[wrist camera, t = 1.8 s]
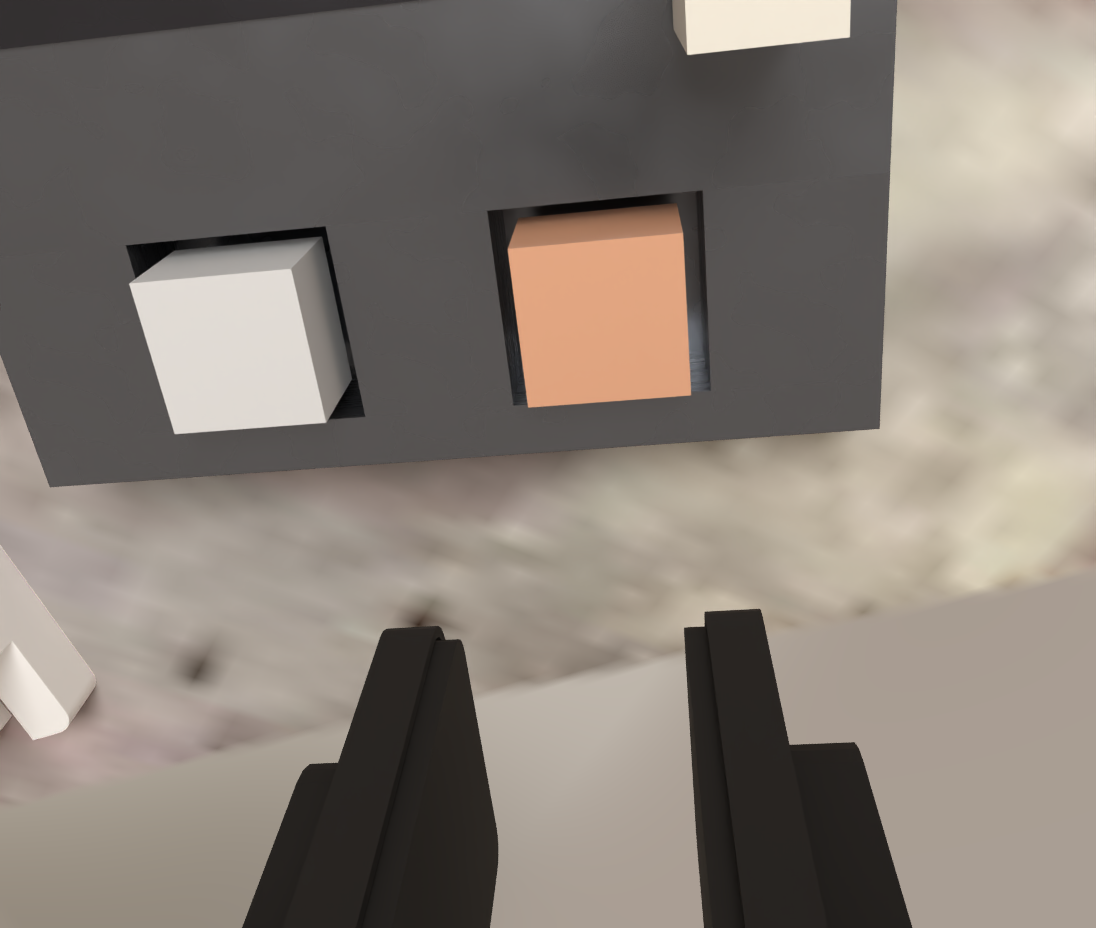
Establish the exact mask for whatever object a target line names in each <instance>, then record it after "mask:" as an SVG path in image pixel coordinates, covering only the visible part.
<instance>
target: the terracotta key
mask: <svg viewBox="0 0 1096 928" xmlns="http://www.w3.org/2000/svg"><path fill="white" fill-rule="evenodd" d="M508 255H509V263H510V271H511V278H512V286H513V294H514V302H515V309H516V317H517V325H518V333H519V341H520V348H521V356H522V364H523V372H524V379H525V387H526V395H527V403H528V408H530V407H543V406H556V405H570V404H583V403H596V402H610V401H623V400H636V399H650V398H663V397H676V396H690V395H691V382H690V362H689V342H688V322H687V302H686V282H685V262H684V241H683V230H682V226H681V221H680V216H679V211H678V207H677V203H672V204H661V205H651V206H640V207H629V208H619V209H608V210H598V211H587V212H576V213H566V214H555V215H545V216H534V217H523V218H518V221H517V224H516V226H515V229H514V232H513V235H512V238H511V241H510V244H509V247H508Z"/></svg>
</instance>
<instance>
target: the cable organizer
mask: <svg viewBox="0 0 1096 928" xmlns="http://www.w3.org/2000/svg"><path fill="white" fill-rule="evenodd" d="M95 686H96V678H95V675H94V673H93V672H92V671H91V669H90V668H89V666H88V665H87V664H86V662H85V661H84V659H83V658H82V657H81V655H80V654H79V653H78V651H77V650H76V648H75V647H74V646H73V644H72V643H71V642H70V640H69V639H68V637H67V636H66V635H65V633H64V632H63V631H62V629H61V628H60V626H59V625H58V624H57V622H56V621H55V620H54V618H53V617H52V615H51V614H50V613H49V611H48V610H47V609H46V607H45V606H44V604H43V603H42V602H41V600H40V599H39V598H38V596H37V595H36V593H35V592H34V591H33V589H32V588H31V587H30V585H29V584H28V582H27V581H26V580H25V578H24V577H23V576H22V574H21V573H20V571H19V570H18V569H17V567H16V566H15V565H14V563H13V562H12V560H11V559H10V558H9V556H8V555H7V553H6V552H5V551H4V549H3V548H2V547H1V545H0V699H1V700H2V701H3V703H4V704H5V705H6V706H7V708H8V709H9V710H10V711H11V713H12V714H13V715H14V716H15V718H16V719H17V720H18V722H19V723H20V724H21V725H22V727H23V728H24V729H25V730H26V732H27V733H28V734H29V736H30V737H31V738H32V739H33V740H36V739H40V738H43V737H46V736H50V735H53V734H57V733H60V732H62V731H64V730H65V729H66V728H67V727H68V726H69V724H70V723H71V721H72V720H73V718H74V717H75V716H76V714H77V713H78V711H79V710H80V708H81V707H82V705H83V704H84V702H85V701H86V700H87V698H88V697H89V695H90V694H91V692H92V691H93V689H94V688H95ZM11 716H12V715H11V714H10V713H9V711H8V710H7V709H6V708H5V706H4V705H3V704H2V702H1V701H0V731H1V729H2V728H3V727H4V726H5V724H6V723H7V722H8V720H9V719H10V718H11Z"/></svg>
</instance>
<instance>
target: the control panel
mask: <svg viewBox="0 0 1096 928" xmlns="http://www.w3.org/2000/svg"><path fill="white" fill-rule="evenodd" d="M896 14H897V0H851V8H850V37H848V38H839V39H830V40H820V41H811V42H802V43H793V44H784V45H775V46H765V47H756V48H747V49H738V50H729V51H720V52H710V53H701V54H692V55H687V53H686V52H685V50H684V48H683V46H682V44H681V42H680V40H679V39H678V37H677V35H676V33H675V31H674V28H673V8H672V0H0V355H1V358H2V360H3V363H4V366H5V368H6V371H7V374H8V376H9V379H10V382H11V384H12V387H13V390H14V392H15V395H16V398H17V400H18V403H19V406H20V408H21V411H22V414H23V416H24V419H25V422H26V424H27V427H28V430H29V432H30V435H31V438H32V440H33V443H34V446H35V448H36V451H37V454H38V456H39V459H40V462H41V464H42V467H43V470H44V473H45V475H46V478H47V481H48V483H49V486H50V487H59V486H74V485H88V484H102V483H116V482H130V481H145V480H159V479H173V478H187V477H201V476H216V475H230V474H244V473H258V472H272V471H287V470H301V469H315V468H329V467H343V466H358V465H372V464H386V463H400V462H414V461H429V460H443V459H457V458H471V457H485V456H500V455H514V454H528V453H542V452H556V451H571V450H585V449H599V448H613V447H627V446H642V445H656V444H670V443H684V442H699V441H713V440H727V439H741V438H755V437H770V436H784V435H798V434H812V433H826V432H841V431H855V430H869V429H879V427H880V403H881V379H882V354H883V330H884V306H885V282H886V257H887V233H888V209H889V184H890V160H891V136H892V112H893V87H894V63H895V39H896ZM672 203H677V207H678V211H679V216H680V221H681V226H682V230H683V241H684V262H685V282H686V302H687V322H688V342H689V362H690V382H691V395H690V396H676V397H663V398H650V399H636V400H623V401H610V402H596V403H583V404H570V405H556V406H543V407H530V408H528V403H527V395H526V387H525V379H524V372H523V364H522V356H521V348H520V341H519V333H518V325H517V317H516V309H515V302H514V294H513V286H512V278H511V271H510V263H509V255H508V247H509V244H510V241H511V238H512V235H513V232H514V229H515V226H516V224H517V221H518V218H523V217H534V216H545V215H555V214H566V213H576V212H587V211H598V210H608V209H619V208H629V207H640V206H651V205H661V204H672ZM312 237H322V238H323V243H324V248H325V253H326V257H327V262H328V267H329V272H330V276H331V281H332V286H333V291H334V295H335V300H336V305H337V310H338V314H339V319H340V324H341V329H342V333H343V338H344V343H345V348H346V352H347V357H348V362H349V366H350V371H351V376H352V380H351V382H350V383H349V385H348V387H347V388H346V390H345V392H344V393H343V395H342V397H341V399H340V400H339V402H338V404H337V405H336V407H335V409H334V410H333V412H332V414H331V415H330V417H329V419H328V421H327V422H326V423H317V424H303V425H290V426H277V427H263V428H250V429H237V430H223V431H210V432H197V433H183V434H175V433H174V430H173V427H172V423H171V420H170V417H169V414H168V410H167V407H166V404H165V400H164V397H163V394H162V391H161V387H160V384H159V381H158V377H157V374H156V371H155V367H154V364H153V361H152V358H151V354H150V351H149V348H148V344H147V341H146V338H145V335H144V331H143V328H142V325H141V321H140V318H139V315H138V311H137V308H136V305H135V302H134V298H133V295H132V292H131V288H130V285H129V283H131V282H132V281H133V280H135V279H136V278H137V277H139V276H140V275H142V274H143V273H144V272H146V271H147V270H148V269H150V268H151V267H153V266H154V265H155V264H157V263H158V262H159V261H161V260H162V259H164V258H165V257H166V256H168V255H169V254H170V253H172V252H173V251H175V250H184V249H195V248H206V247H216V246H227V245H237V244H248V243H259V242H269V241H280V240H290V239H301V238H312Z"/></svg>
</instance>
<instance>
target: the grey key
mask: <svg viewBox="0 0 1096 928" xmlns="http://www.w3.org/2000/svg"><path fill="white" fill-rule="evenodd" d="M129 285H130V288H131V292H132V295H133V298H134V302H135V305H136V308H137V311H138V315H139V318H140V321H141V325H142V328H143V331H144V335H145V338H146V341H147V344H148V348H149V351H150V354H151V358H152V361H153V364H154V367H155V371H156V374H157V377H158V381H159V384H160V387H161V391H162V394H163V397H164V400H165V404H166V407H167V410H168V414H169V417H170V420H171V423H172V427H173V430H174V433H175V434H183V433H197V432H210V431H223V430H237V429H250V428H263V427H277V426H290V425H303V424H317V423H326V422H327V421H328V419H329V417H330V415H331V414H332V412H333V410H334V409H335V407H336V405H337V404H338V402H339V400H340V399H341V397H342V395H343V393H344V392H345V390H346V388H347V387H348V385H349V383H350V382H351V380H352V376H351V371H350V366H349V362H348V357H347V352H346V348H345V343H344V338H343V333H342V329H341V324H340V319H339V314H338V310H337V305H336V300H335V295H334V291H333V286H332V281H331V276H330V272H329V267H328V262H327V257H326V253H325V248H324V243H323V238H322V237H312V238H301V239H290V240H280V241H269V242H259V243H248V244H237V245H227V246H216V247H206V248H195V249H184V250H175V251H173V252H172V253H170V254H169V255H168V256H166V257H165V258H164V259H162V260H161V261H159V262H158V263H157V264H155V265H154V266H153V267H151V268H150V269H148V270H147V271H146V272H144V273H143V274H142V275H140V276H139V277H137V278H136V279H135V280H133V281H132V282H131V283H129Z"/></svg>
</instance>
